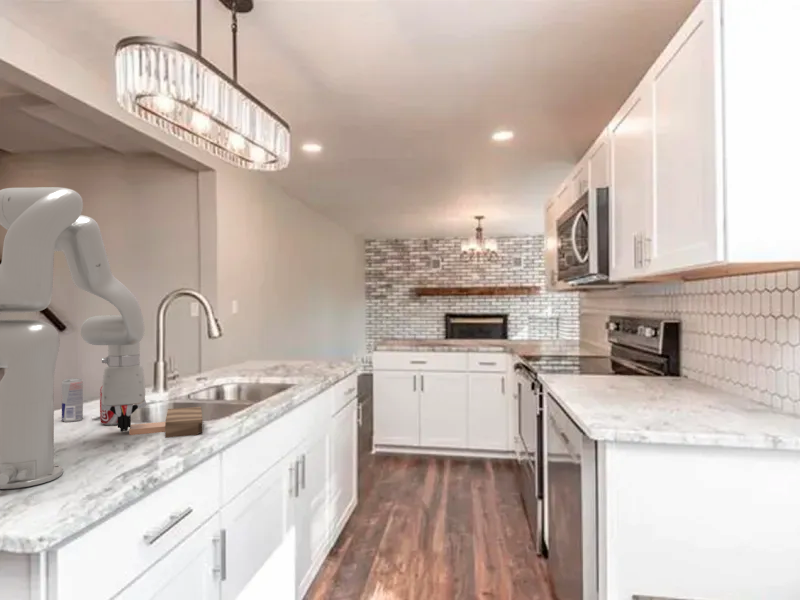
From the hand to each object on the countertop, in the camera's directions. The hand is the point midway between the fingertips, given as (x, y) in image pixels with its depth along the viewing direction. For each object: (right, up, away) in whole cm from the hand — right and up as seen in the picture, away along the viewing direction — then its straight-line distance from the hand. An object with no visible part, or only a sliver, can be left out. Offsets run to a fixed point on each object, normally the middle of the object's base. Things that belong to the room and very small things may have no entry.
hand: (124, 430), depth 144 cm
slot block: (+14, -1, +5) cm, 15 cm away
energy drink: (-23, -1, +15) cm, 28 cm away
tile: (+6, -1, +3) cm, 7 cm away
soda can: (-9, -1, +11) cm, 14 cm away
